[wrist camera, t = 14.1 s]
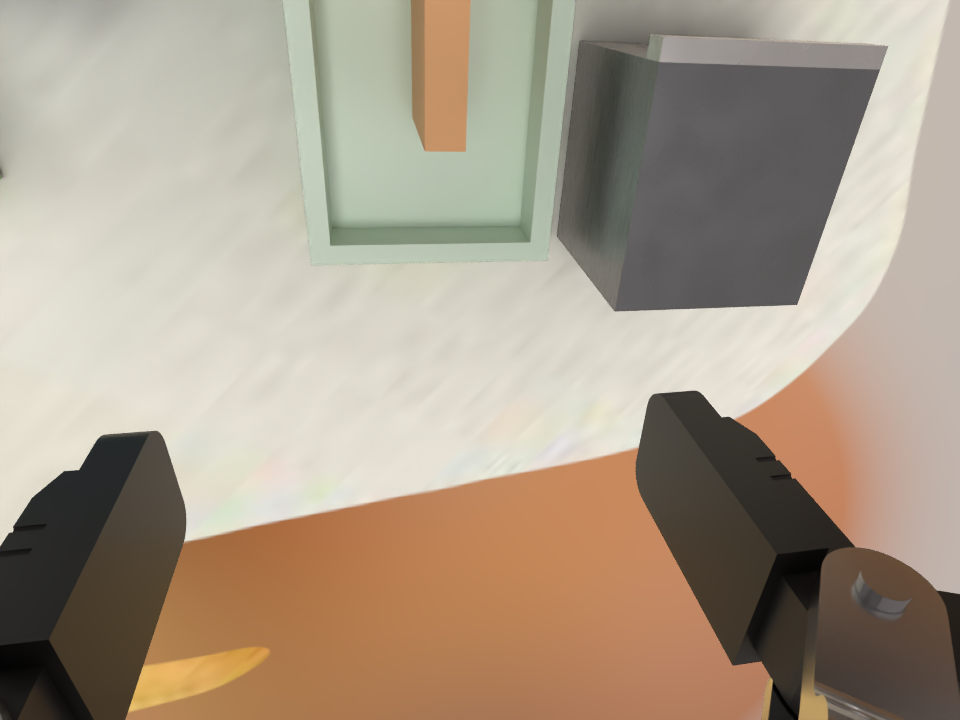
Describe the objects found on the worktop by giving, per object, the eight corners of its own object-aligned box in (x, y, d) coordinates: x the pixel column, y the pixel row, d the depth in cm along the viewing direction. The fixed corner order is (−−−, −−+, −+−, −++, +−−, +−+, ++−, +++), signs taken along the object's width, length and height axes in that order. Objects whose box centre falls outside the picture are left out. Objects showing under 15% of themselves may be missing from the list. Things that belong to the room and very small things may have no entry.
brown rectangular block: (409, -149, 24) (424, -191, 18) (448, -145, 24) (476, -186, 19) (412, 117, 29) (424, 151, 24) (445, 118, 30) (465, 151, 24)
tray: (270, -207, 23) (257, -234, 20) (570, -177, 25) (597, -198, 22) (315, 240, 33) (311, 265, 30) (531, 236, 35) (547, 260, 32)
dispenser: (581, 22, 29) (663, 36, 21) (752, 29, 31) (888, 46, 23) (557, 236, 35) (614, 311, 27) (701, 234, 36) (797, 304, 28)
